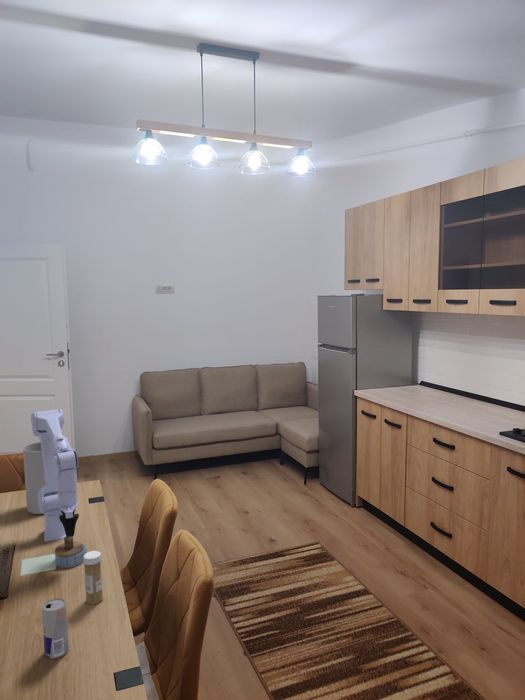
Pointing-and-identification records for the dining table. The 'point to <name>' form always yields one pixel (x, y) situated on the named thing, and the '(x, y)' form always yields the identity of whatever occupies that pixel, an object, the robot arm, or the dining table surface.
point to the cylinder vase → (33, 475)
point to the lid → (68, 548)
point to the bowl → (71, 559)
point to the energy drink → (55, 628)
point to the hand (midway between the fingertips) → (69, 530)
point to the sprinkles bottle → (93, 577)
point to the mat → (38, 564)
